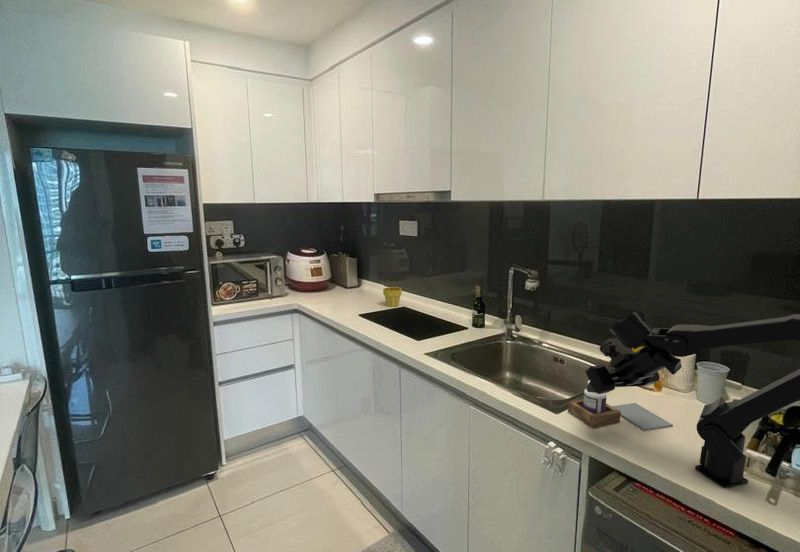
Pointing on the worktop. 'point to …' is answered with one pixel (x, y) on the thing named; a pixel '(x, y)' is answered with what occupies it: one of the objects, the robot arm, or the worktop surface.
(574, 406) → the walnut socket
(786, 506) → the worktop surface
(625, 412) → the grey mat
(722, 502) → the worktop surface
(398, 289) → the plant pot
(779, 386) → the robot arm
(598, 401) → the pill bottle
